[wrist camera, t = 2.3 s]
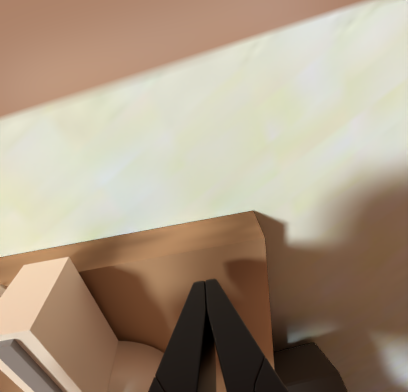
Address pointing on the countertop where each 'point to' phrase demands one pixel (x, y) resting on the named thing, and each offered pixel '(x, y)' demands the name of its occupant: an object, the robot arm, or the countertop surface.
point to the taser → (307, 370)
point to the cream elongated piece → (66, 337)
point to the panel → (166, 278)
